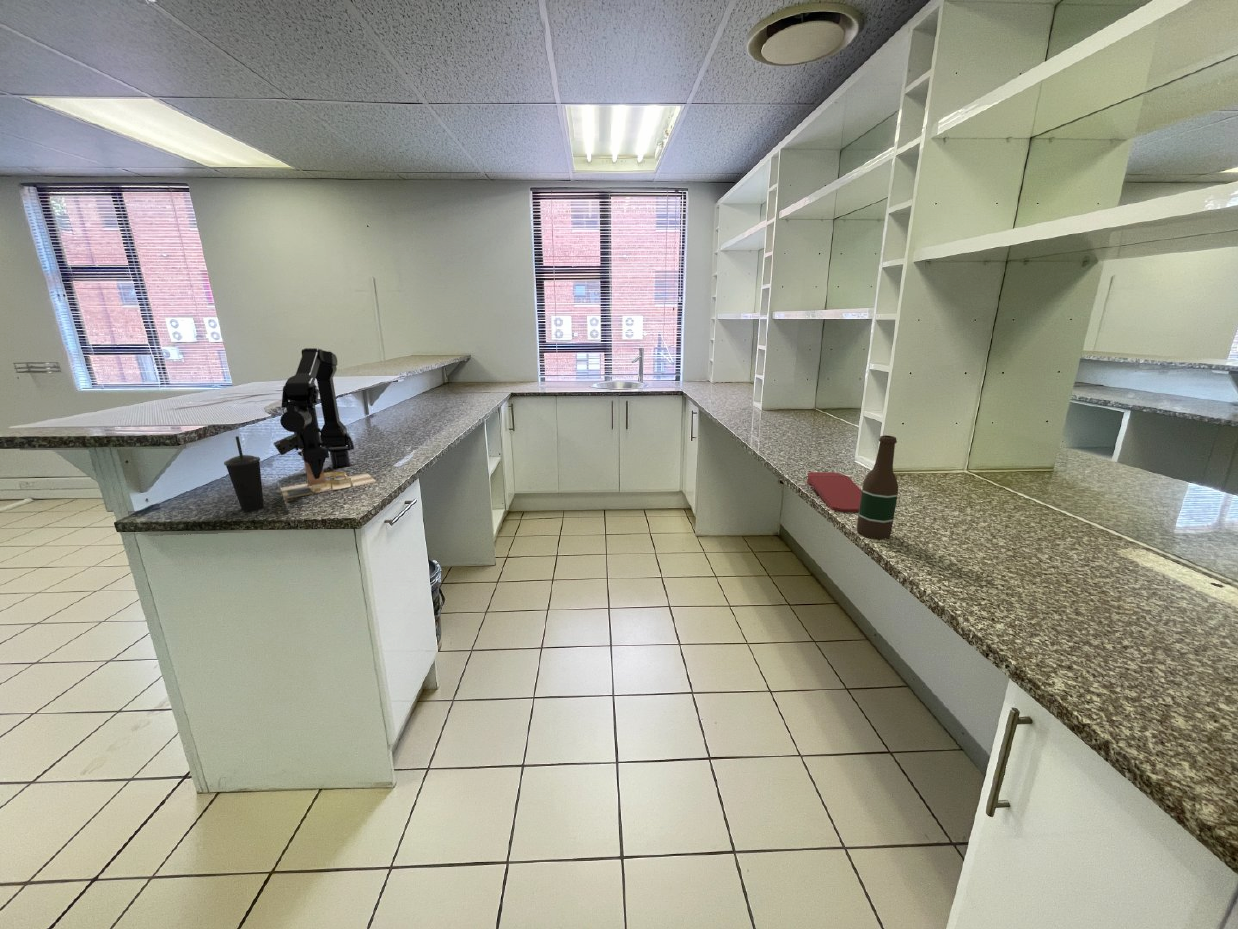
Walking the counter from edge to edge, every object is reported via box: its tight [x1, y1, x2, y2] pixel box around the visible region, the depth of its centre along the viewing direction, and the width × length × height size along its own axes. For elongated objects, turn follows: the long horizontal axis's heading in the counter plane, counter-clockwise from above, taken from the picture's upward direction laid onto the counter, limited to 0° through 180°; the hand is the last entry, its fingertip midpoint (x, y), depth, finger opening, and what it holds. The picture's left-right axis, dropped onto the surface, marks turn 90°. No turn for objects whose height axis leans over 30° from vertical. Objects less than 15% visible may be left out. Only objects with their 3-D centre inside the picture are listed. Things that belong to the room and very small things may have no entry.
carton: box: [806, 471, 862, 513], centre depth 141 cm, size 12×5×25 cm
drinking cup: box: [223, 436, 265, 513], centre depth 127 cm, size 8×8×20 cm
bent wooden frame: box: [306, 470, 354, 495], centre depth 146 cm, size 12×11×2 cm
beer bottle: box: [856, 434, 899, 541], centre depth 113 cm, size 8×8×24 cm
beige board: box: [279, 472, 378, 503], centre depth 147 cm, size 12×24×1 cm, turn 130°
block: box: [303, 460, 326, 486], centre depth 142 cm, size 4×4×7 cm
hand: (315, 476), depth 142 cm, fingers closed on block, 4 cm apart
